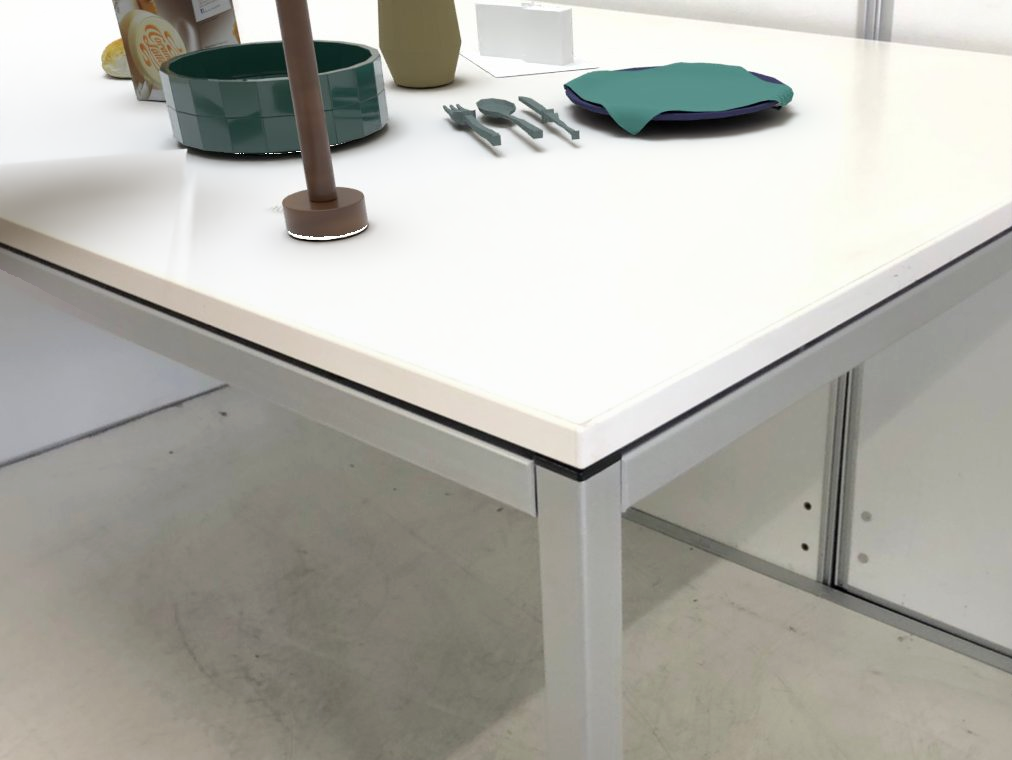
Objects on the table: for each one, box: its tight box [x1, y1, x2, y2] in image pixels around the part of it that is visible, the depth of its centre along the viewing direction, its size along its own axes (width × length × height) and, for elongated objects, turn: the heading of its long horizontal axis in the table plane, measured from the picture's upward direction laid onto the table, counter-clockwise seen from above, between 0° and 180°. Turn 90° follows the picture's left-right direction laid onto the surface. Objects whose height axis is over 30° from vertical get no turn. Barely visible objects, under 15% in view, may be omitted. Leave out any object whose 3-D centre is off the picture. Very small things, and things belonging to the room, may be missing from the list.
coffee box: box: [111, 0, 242, 102], centre depth 103 cm, size 9×6×16 cm
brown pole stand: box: [274, 0, 369, 237], centre depth 69 cm, size 5×5×16 cm
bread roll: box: [100, 37, 132, 79], centre depth 117 cm, size 8×9×4 cm
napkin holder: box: [459, 0, 600, 78], centre depth 119 cm, size 15×11×6 cm
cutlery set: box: [442, 61, 795, 147], centre depth 98 cm, size 20×30×2 cm, turn 113°
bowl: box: [159, 39, 390, 154], centre depth 93 cm, size 17×17×6 cm
